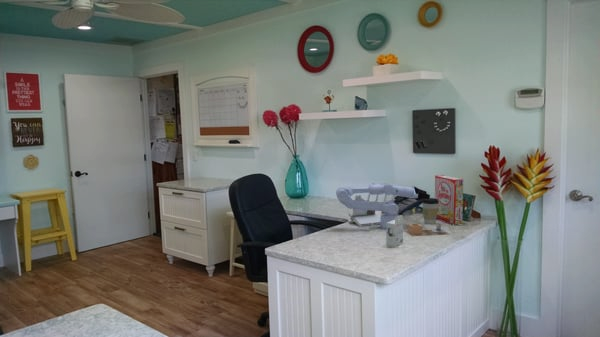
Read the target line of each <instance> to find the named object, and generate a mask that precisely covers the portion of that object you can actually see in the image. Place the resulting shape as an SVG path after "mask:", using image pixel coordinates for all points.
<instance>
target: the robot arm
mask: <svg viewBox="0 0 600 337" xmlns="http://www.w3.org/2000/svg"><path fill="white" fill-rule="evenodd" d="M362 193H363V194H365V193H367V194H370V196H373V195H374V196H375V195H376V196H377V195H378V194H379V195H385V194H386V195H387V196H391V195H395V196H397V197H402V198H403V197H405V198H410V199H414V198H415V201H422V200H423V199H430V198H431V194H430V193H428V192H427V191H426V190H423V189H421V188H419V187H417V186H415V185H412V186H411V187H410V186H403V185H396V184H390V183H386V182H382V183H379V184H377V183H374V182H373V183H372V184H369V185H368V186H344V187H339V188H338V189H336V192H335V194H336V198H337V200H338V201H339V203H341V205H344V206H345V207H346V208H347V209H350V210H353V209H360V210H373V211H382V212H385V214H382V215H381V218H380V227H379V228H381V229H383V230H386V223H387V222H390V221H392V220H395V217H398V216H399V211H400V208H399V207H400V206H398V204H396V202H395V201H394V202H393V201H392V200H390V201H386V202H384V201H380V202H378V201H377V202H369V201H370V200H369V201H367V200H366V201H357V200H355V199H352V198H351V197H352V196H354V195H355V194H362ZM379 195H378V196H379Z"/></svg>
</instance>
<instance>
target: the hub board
mask: <svg viewBox="0 0 600 337" xmlns="http://www.w3.org/2000/svg"><path fill="white" fill-rule="evenodd" d="M441 228H442V227H441V224H440V223H438V224H436V228H435V229H434V228H433V229H422V234H415V235H412V234H410V233H409V232H408V230H404V232H405V233H406V234H407V235H409V236H411V237H423V236H424V237H425V236H442V235H443V236H446V235H448V236H449V235H451V233H449V232H448V231H446V230H445V229H441Z"/></svg>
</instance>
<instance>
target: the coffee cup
mask: <svg viewBox="0 0 600 337" xmlns="http://www.w3.org/2000/svg"><path fill="white" fill-rule="evenodd" d="M438 203H439V201H438V199H435V197H434V198H433V197H430V199H421V204H422V213H423V214H422V216H423V222H424V225H432V224H433V225H437V224H436V223H437V220H438V219H437V212H438Z"/></svg>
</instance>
